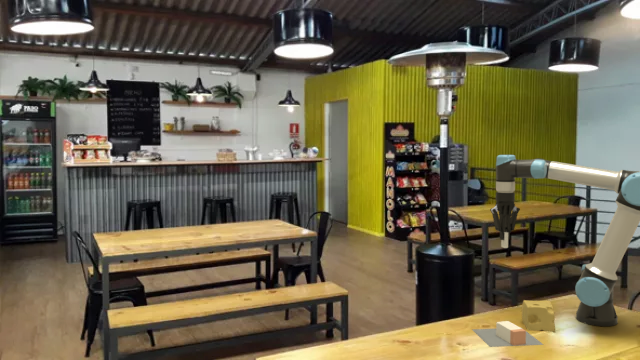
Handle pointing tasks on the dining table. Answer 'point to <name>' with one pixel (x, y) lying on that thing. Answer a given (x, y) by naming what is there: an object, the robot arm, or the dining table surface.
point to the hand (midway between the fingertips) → (504, 247)
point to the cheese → (538, 315)
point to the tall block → (511, 333)
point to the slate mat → (496, 341)
